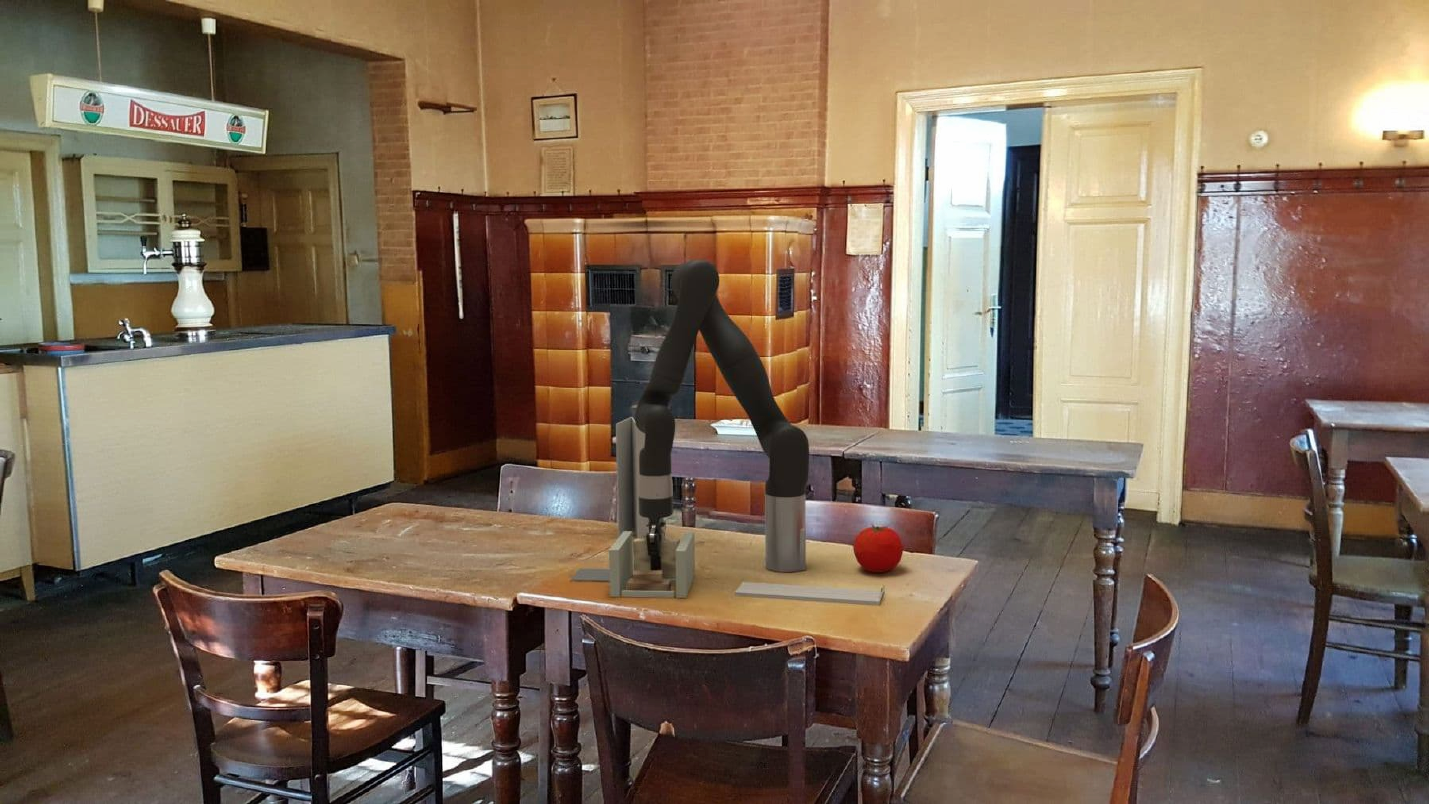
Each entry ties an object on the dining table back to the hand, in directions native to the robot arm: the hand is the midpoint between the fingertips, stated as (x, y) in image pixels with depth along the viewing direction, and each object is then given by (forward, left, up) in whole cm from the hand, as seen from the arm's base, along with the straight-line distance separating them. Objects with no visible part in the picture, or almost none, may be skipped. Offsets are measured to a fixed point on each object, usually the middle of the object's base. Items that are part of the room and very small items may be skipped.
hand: (657, 570), depth 229 cm
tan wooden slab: (0, 0, -2) cm, 2 cm away
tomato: (-49, -11, -2) cm, 50 cm away
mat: (+14, -2, -2) cm, 14 cm away
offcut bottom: (0, +11, -2) cm, 11 cm away
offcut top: (0, +11, +1) cm, 11 cm away
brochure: (+12, -42, -2) cm, 44 cm away
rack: (0, +5, -2) cm, 5 cm away
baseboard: (-34, +8, -3) cm, 35 cm away
